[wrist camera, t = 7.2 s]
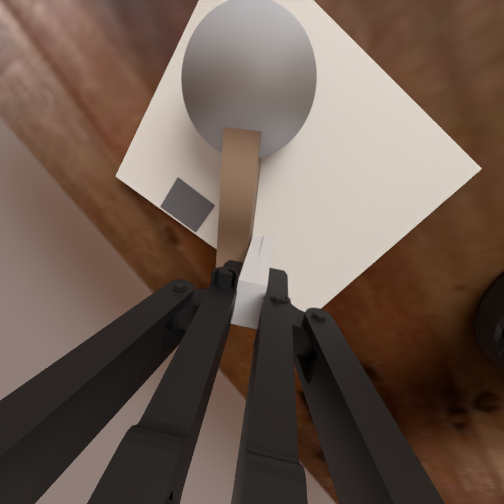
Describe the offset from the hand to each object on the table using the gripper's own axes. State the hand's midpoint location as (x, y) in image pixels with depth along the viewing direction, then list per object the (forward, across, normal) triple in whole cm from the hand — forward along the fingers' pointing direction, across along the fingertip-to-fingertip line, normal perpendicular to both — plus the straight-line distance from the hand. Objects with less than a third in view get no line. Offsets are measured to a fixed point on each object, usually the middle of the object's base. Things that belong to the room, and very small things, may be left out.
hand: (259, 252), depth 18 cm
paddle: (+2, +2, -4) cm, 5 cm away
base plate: (+4, 0, -6) cm, 7 cm away
